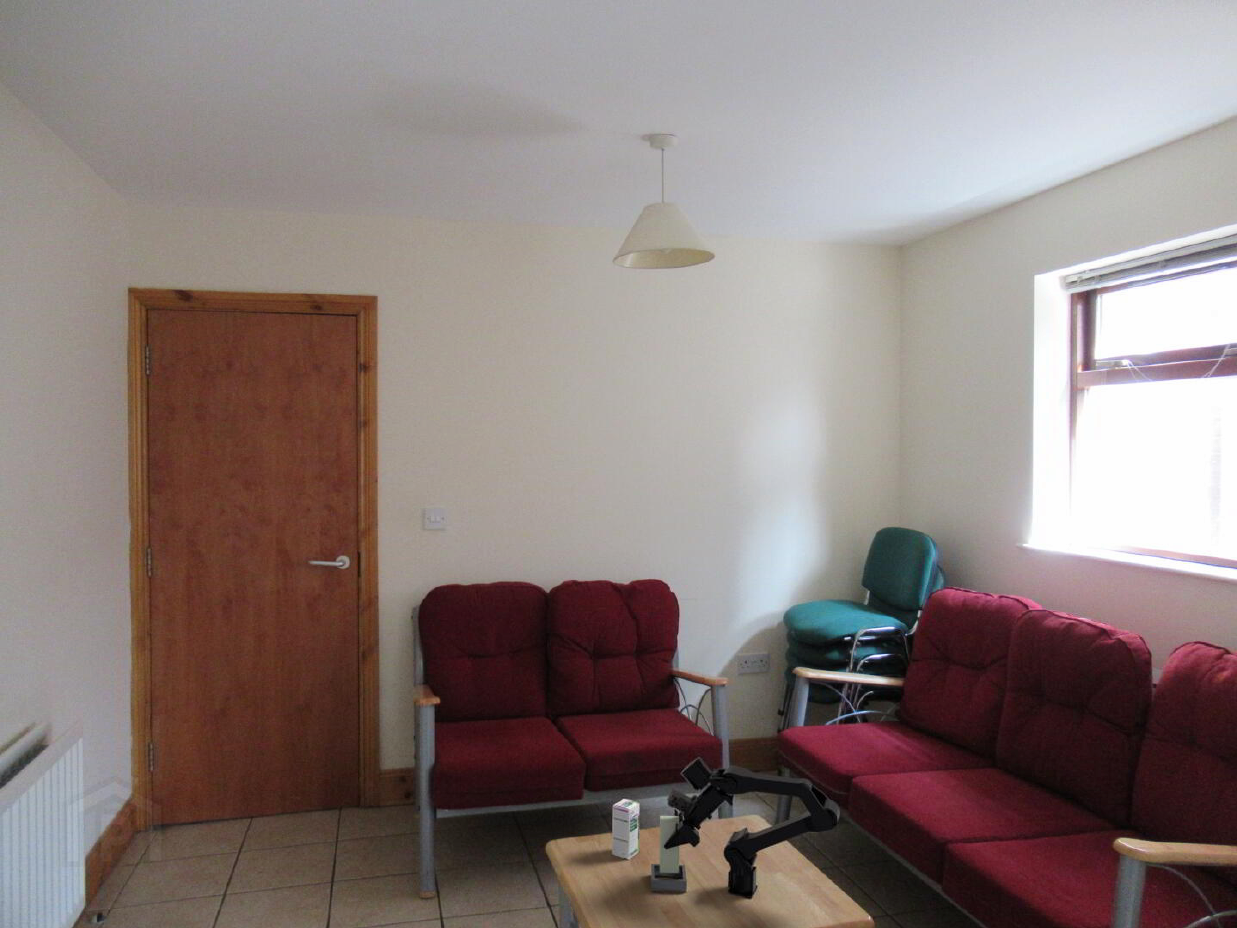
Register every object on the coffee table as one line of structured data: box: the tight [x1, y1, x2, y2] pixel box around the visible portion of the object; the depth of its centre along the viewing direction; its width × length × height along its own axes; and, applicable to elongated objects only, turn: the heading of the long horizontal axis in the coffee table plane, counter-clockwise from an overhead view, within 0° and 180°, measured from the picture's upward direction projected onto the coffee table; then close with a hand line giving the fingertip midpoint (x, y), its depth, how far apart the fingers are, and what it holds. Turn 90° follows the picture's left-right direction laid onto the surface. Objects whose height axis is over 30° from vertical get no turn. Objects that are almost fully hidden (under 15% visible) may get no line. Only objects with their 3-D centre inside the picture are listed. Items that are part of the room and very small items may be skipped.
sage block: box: [659, 815, 680, 873], centre depth 238 cm, size 5×5×13 cm
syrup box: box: [611, 798, 640, 860], centre depth 254 cm, size 6×6×14 cm
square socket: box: [650, 863, 688, 894], centre depth 238 cm, size 9×9×3 cm
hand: (664, 843), depth 238 cm, fingers closed on sage block, 5 cm apart
